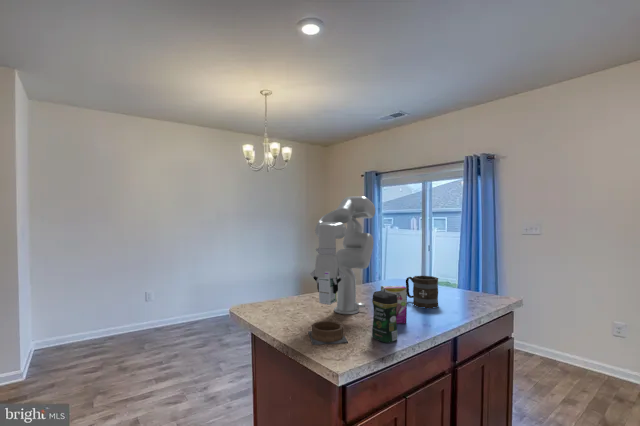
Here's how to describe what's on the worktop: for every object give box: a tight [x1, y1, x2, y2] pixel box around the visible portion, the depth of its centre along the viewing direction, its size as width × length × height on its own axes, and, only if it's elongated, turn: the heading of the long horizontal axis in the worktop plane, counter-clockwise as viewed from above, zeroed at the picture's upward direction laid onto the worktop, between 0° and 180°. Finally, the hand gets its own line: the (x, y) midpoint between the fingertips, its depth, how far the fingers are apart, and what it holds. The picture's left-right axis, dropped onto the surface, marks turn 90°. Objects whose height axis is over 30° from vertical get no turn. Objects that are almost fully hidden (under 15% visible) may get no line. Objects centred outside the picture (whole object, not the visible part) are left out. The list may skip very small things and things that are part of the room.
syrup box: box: [318, 271, 337, 306], centre depth 147 cm, size 6×6×14 cm
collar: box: [308, 320, 349, 346], centre depth 133 cm, size 14×14×4 cm
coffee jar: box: [371, 290, 398, 344], centre depth 131 cm, size 10×8×19 cm
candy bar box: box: [380, 285, 408, 325], centre depth 152 cm, size 11×5×16 cm, turn 100°
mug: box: [405, 275, 439, 309], centre depth 184 cm, size 20×14×15 cm
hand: (327, 291), depth 147 cm, fingers closed on syrup box, 6 cm apart
